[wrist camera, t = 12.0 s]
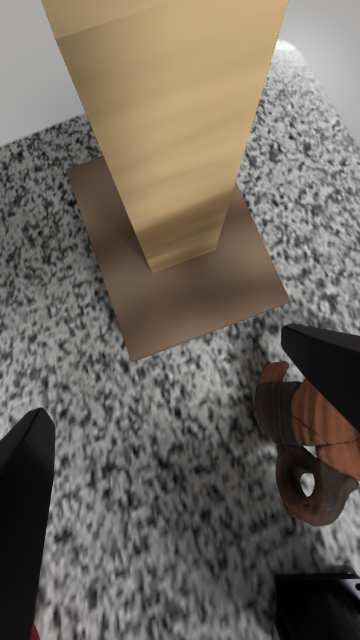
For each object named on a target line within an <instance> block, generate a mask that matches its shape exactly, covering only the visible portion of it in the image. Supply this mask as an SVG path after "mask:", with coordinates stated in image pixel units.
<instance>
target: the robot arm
mask: <svg viewBox="0 0 360 640" xmlns="http://www.w3.org/2000/svg"><path fill="white" fill-rule="evenodd" d="M281 346H282V348H283V350H284V351H285V353H286V354H287V355H288V356H289V358H290V359H291V360H292V361H293V363H294V364H295V365H296V366H297V368H298V369H299V370H300V371H301V373H302V374H303V375H304V376H305V378H306V379H307V380H308V381H309V382H310V383H311V384H312V385H313V386H314V387H315V388H316V389H317V390H318V391H319V392H320V393H321V395H322V396H323V397H324V398H325V399H326V400H327V401H328V402H329V403H330V404H331V405H332V406H333V407H334V408H335V409H336V410H337V411H338V412H339V413H340V414H341V415H342V416H343V417H344V418H345V419H346V420H347V421H348V422H349V423H350V424H351V425H352V426H353V427H354V428H355V430H356V431H357V432H358V433H359V434H360V336H358V335H352V334H347V333H342V332H336V331H331V330H326V329H320V328H315V327H310V326H304V325H299V324H294V323H291V324H288V325H285V326H283V327H282V329H281ZM54 461H55V425H54V422H53V421H52V419H51V418H50V416H49V415H48V413H47V412H46V410H45V409H44V408H41V407H40V408H37V409H34V410H31V411H29V412H27V413H26V414H25V415H24V417H23V418H22V419H21V420H20V421H19V422H18V423H17V424H16V425H15V426H14V427H13V428H12V429H11V430H10V431H9V432H8V433H7V434H6V435H5V436H4V437H3V439H2V440H1V441H0V640H30V639H31V632H32V625H33V618H34V611H35V604H36V597H37V590H38V583H39V576H40V569H41V562H42V555H43V549H44V542H45V535H46V528H47V521H48V514H49V507H50V500H51V493H52V486H53V478H54ZM356 583H358V584H357V585H356ZM280 584H284V585H283V586H281V587H280ZM355 585H356V586H355ZM274 593H275V607H276V612H274V614H273V616H272V622H273V636H274V640H360V577H359V576H358V575H356V574H316V575H278V576H276V577H275V579H274Z"/></svg>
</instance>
